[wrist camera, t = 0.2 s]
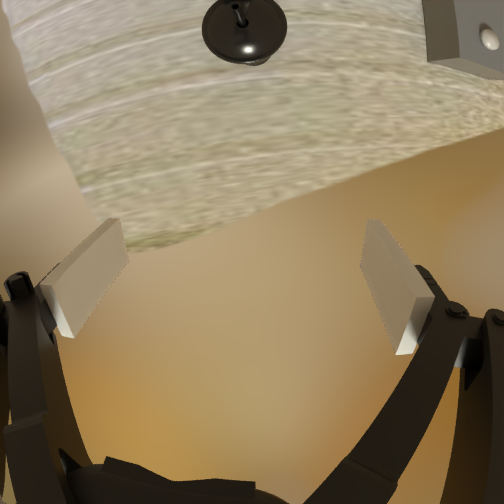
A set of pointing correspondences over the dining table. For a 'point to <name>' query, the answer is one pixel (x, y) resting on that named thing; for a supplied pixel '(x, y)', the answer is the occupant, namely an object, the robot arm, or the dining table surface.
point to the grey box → (466, 35)
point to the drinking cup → (244, 30)
